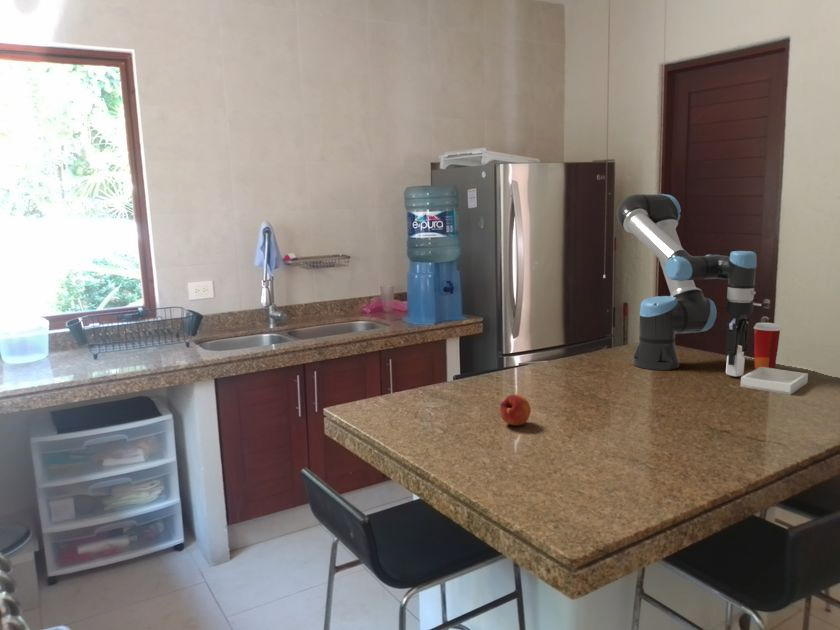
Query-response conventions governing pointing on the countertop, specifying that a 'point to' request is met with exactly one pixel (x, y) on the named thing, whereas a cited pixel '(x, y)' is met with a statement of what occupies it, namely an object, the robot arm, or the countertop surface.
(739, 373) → the salt shaker
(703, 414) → the countertop surface
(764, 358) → the coffee cup
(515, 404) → the fruit
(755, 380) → the bin
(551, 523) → the countertop surface
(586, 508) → the countertop surface
